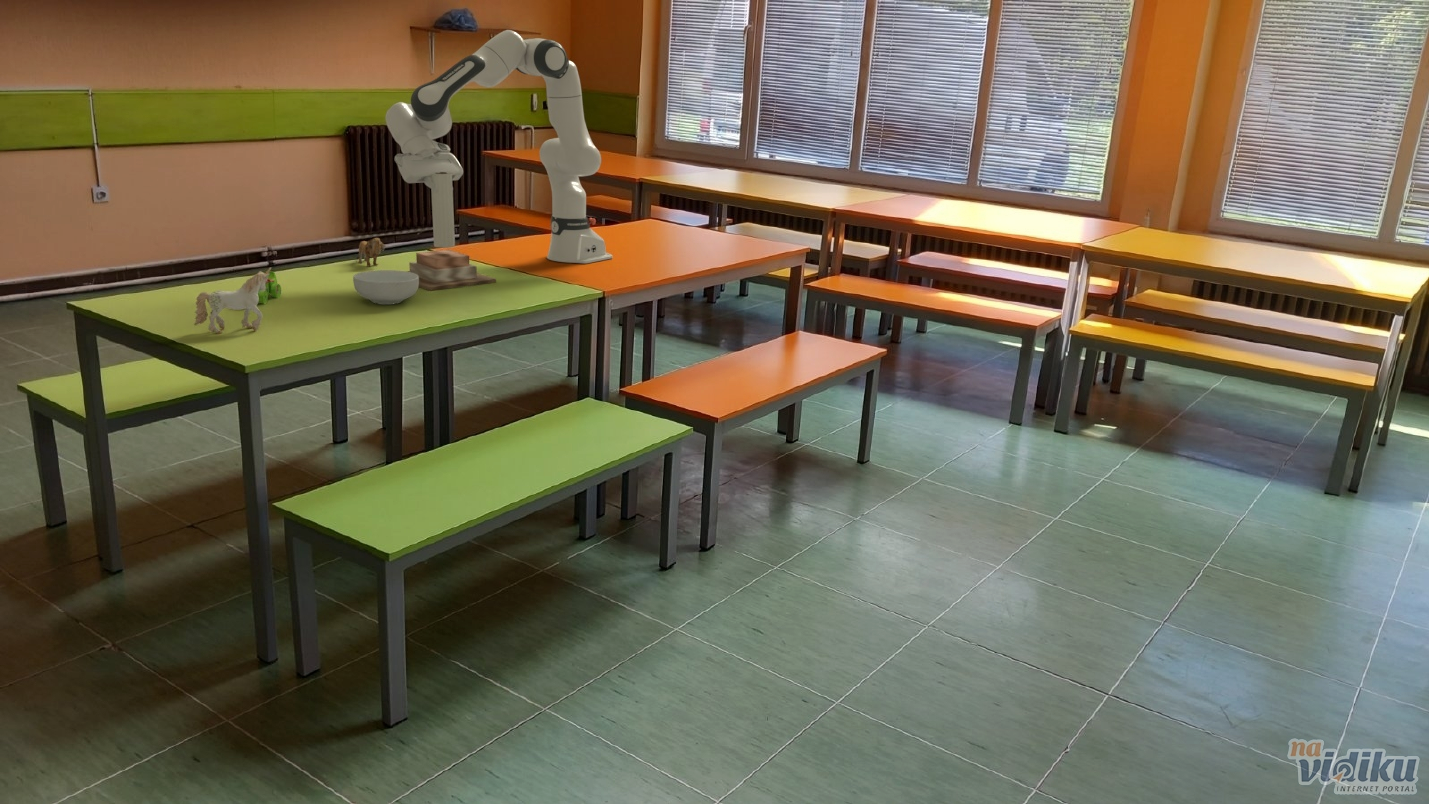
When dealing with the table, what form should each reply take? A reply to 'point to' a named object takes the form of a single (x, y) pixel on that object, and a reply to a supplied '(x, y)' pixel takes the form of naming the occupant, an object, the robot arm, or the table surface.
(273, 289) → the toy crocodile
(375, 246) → the lion figurine
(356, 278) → the cereal bowl
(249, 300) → the unicorn figurine
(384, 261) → the table surface
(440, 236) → the paper towel roll
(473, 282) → the brown square stepped pedestal
